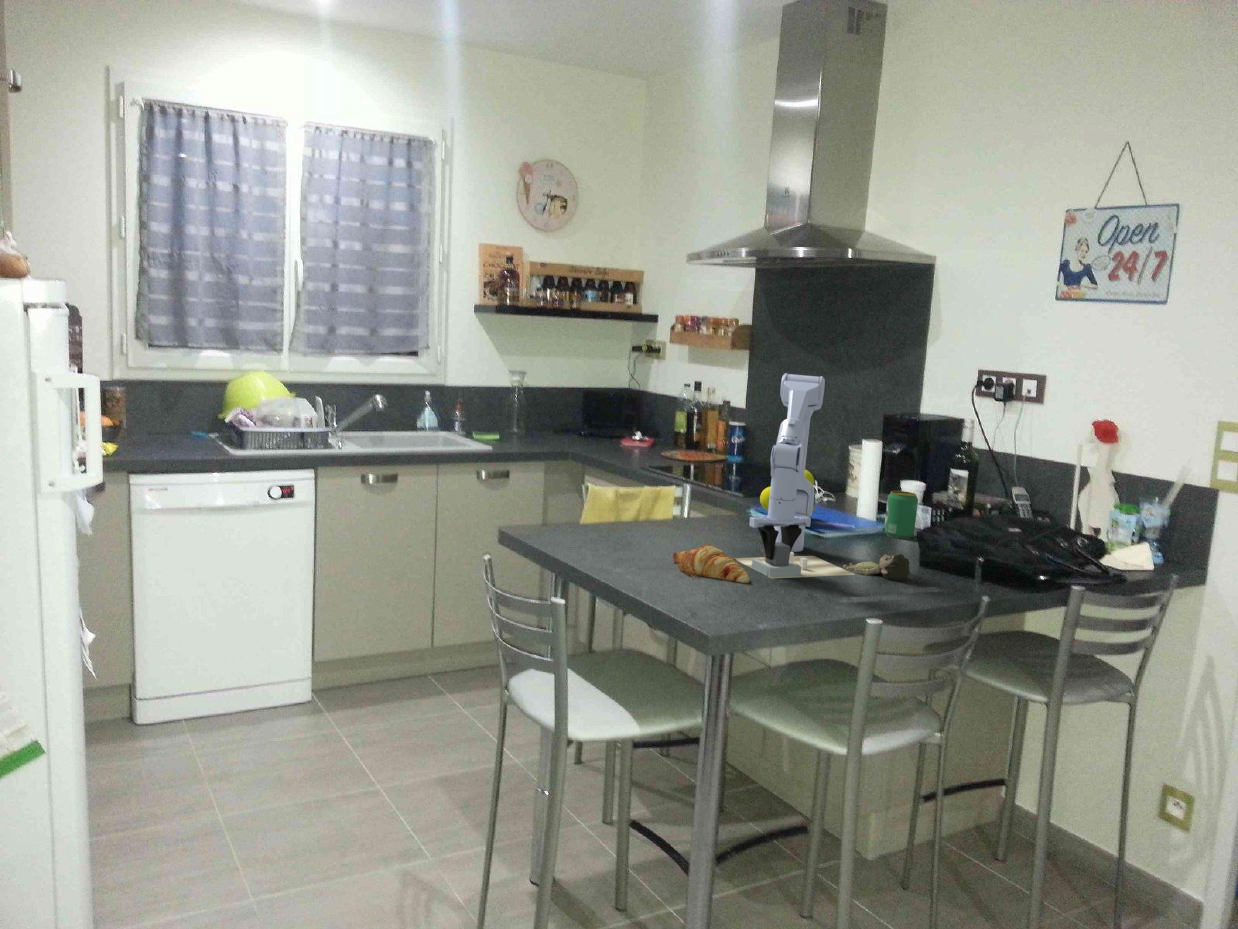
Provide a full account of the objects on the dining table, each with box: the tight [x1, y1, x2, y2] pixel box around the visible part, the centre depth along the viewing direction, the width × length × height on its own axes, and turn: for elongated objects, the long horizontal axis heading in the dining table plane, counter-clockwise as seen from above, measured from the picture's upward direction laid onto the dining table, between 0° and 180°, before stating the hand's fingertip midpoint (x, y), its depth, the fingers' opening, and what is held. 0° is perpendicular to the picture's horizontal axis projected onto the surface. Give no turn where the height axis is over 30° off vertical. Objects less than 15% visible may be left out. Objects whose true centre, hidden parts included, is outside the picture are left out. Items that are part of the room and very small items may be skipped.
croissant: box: [672, 544, 751, 584], centre depth 220 cm, size 21×10×8 cm, turn 47°
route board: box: [735, 555, 857, 579], centre depth 230 cm, size 17×22×1 cm
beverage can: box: [883, 490, 919, 540], centre depth 277 cm, size 8×8×12 cm
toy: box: [759, 469, 816, 514], centre depth 286 cm, size 16×17×15 cm
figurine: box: [842, 553, 911, 582], centre depth 229 cm, size 8×6×15 cm
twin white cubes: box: [789, 552, 808, 570], centre depth 231 cm, size 7×1×2 cm, turn 23°
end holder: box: [751, 559, 801, 578], centre depth 224 cm, size 8×8×2 cm
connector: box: [760, 542, 790, 567], centre depth 225 cm, size 8×4×4 cm, turn 23°
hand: (776, 558), depth 224 cm, fingers closed on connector, 3 cm apart
